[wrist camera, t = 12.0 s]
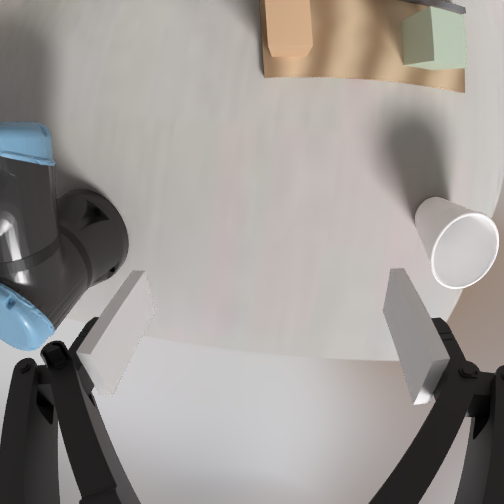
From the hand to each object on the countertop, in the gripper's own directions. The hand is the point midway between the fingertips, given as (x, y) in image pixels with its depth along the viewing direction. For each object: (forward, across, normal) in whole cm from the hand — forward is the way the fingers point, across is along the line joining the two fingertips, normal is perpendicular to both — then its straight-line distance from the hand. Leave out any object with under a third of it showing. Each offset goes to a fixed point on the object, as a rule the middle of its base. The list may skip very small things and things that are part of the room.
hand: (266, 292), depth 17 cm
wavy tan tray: (+27, +12, +18) cm, 34 cm away
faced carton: (+25, +2, +17) cm, 31 cm away
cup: (+27, +22, -6) cm, 35 cm away
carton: (+25, +18, +17) cm, 36 cm away
